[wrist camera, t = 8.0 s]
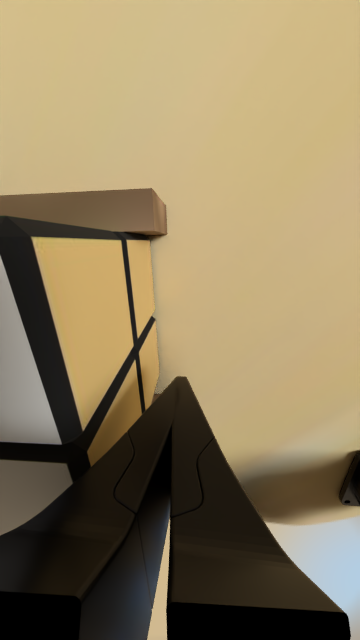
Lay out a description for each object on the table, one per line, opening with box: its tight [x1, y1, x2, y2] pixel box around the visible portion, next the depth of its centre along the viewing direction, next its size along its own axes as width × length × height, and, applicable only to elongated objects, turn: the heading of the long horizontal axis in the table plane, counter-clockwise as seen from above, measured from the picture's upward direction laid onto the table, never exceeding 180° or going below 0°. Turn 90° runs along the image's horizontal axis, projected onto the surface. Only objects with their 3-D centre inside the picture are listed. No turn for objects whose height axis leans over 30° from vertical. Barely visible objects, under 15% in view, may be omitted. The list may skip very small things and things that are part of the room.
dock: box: [0, 188, 167, 404], centre depth 12 cm, size 20×12×6 cm, turn 1°
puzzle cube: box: [0, 216, 160, 535], centre depth 10 cm, size 10×10×10 cm
